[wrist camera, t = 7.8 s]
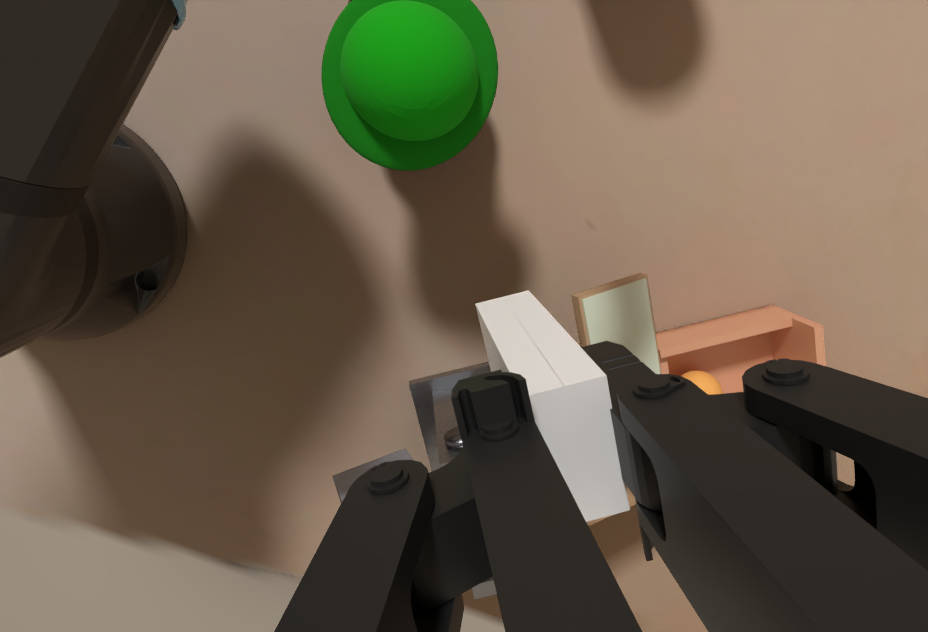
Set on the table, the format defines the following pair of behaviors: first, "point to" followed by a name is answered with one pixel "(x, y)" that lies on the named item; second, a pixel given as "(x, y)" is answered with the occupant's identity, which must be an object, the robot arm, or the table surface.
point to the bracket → (444, 427)
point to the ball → (704, 381)
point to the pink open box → (740, 344)
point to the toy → (409, 79)
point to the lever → (584, 344)
